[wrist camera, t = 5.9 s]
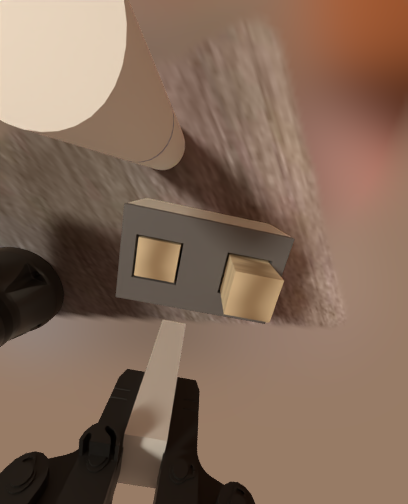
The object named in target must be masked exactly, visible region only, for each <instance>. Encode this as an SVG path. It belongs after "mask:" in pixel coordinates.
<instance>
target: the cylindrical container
mask: <svg viewBox="0 0 408 504" xmlns="http://www.w3.org/2000/svg"><path fill="white" fill-rule="evenodd" d="M0 120H1V121H3V122H5V123H7V124H10V125H13V126H16V127H18V128H21V129H24V130H27V131H31V132H34V133H37V134H41V135H44V136H47V137H51V138H54V139H57V140H61V141H64V142H67V143H70V144H74V145H77V146H80V147H84V148H87V149H90V150H94V151H97V152H100V153H103V154H107V155H110V156H113V157H117V158H120V159H123V160H127V161H130V162H133V163H137V164H140V165H143V166H146V167H150V168H153V169H156V170H167V169H170V168H172V167H174V166H175V165H177V164H178V163H179V161H180V160H181V159H182V156H183V154H184V151H185V139H184V135H183V132H182V130H181V127H180V125H179V123H178V120H177V118H176V115H175V113H174V110H173V108H172V105H171V103H170V100H169V98H168V95H167V93H166V90H165V88H164V86H163V83H162V81H161V78H160V76H159V73H158V71H157V68H156V66H155V63H154V61H153V58H152V56H151V53H150V51H149V49H148V46H147V44H146V41H145V39H144V36H143V34H142V31H141V29H140V26H139V24H138V21H137V19H136V16H135V14H134V12H133V9H132V7H131V4H130V2H129V0H0Z"/></svg>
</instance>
